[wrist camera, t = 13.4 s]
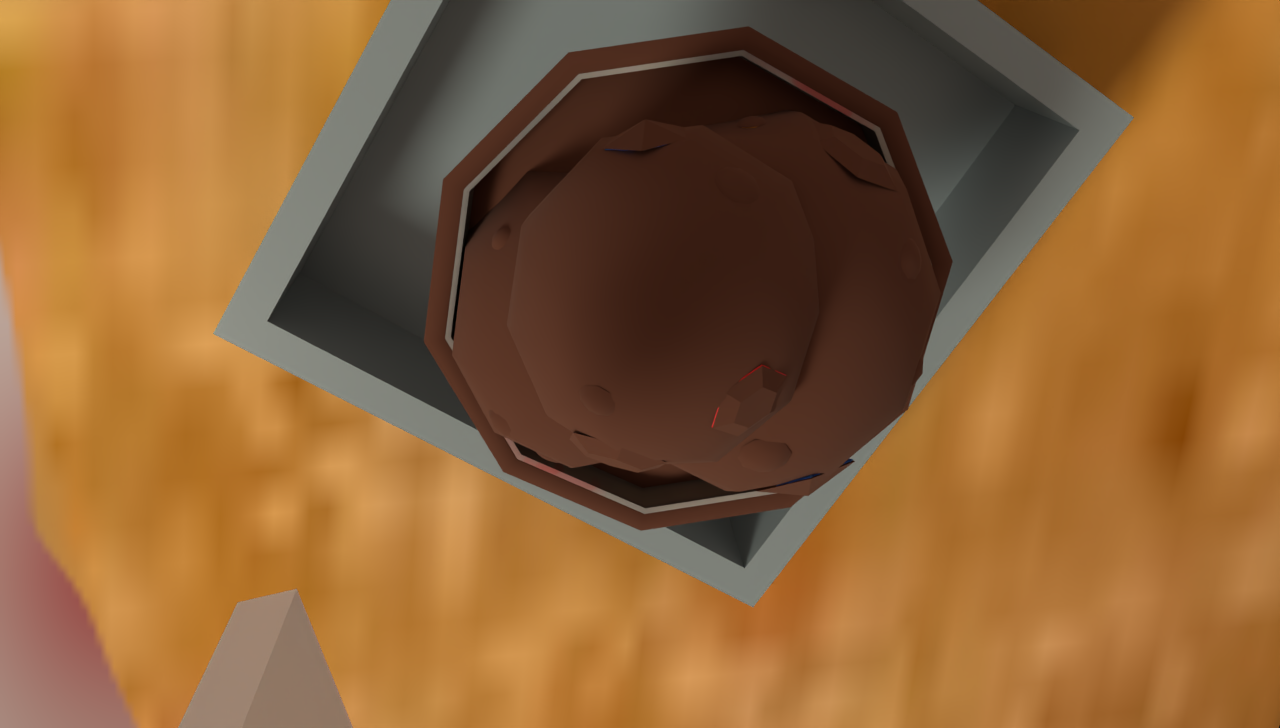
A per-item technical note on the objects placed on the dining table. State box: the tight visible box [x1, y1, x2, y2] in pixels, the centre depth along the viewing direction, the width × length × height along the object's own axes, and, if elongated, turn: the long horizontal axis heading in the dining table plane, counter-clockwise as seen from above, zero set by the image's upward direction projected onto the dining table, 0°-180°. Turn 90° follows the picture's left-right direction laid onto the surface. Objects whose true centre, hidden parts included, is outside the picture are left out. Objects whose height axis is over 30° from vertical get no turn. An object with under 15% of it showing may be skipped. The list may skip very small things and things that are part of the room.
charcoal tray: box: [213, 0, 1134, 607], centre depth 30 cm, size 17×17×5 cm
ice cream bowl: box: [424, 26, 953, 531], centre depth 24 cm, size 11×11×15 cm
